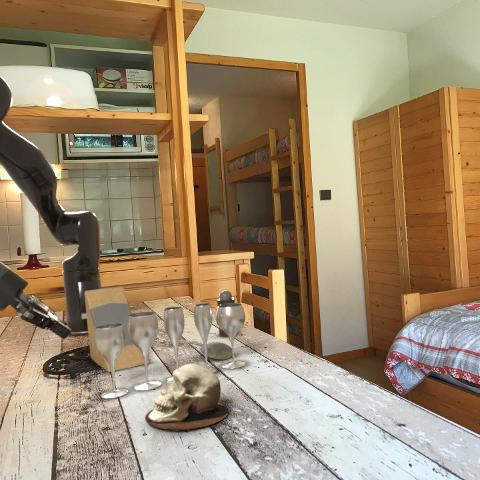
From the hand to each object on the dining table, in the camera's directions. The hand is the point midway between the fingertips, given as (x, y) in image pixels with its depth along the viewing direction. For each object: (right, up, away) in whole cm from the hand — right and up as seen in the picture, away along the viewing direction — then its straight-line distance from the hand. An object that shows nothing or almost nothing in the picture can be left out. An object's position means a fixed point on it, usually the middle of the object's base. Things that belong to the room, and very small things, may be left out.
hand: (68, 335), depth 107 cm
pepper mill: (+29, -4, +22) cm, 37 cm away
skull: (+33, -7, -30) cm, 45 cm away
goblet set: (+26, -6, -11) cm, 29 cm away
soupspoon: (+25, -5, +8) cm, 27 cm away
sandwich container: (+9, -6, +4) cm, 12 cm away
